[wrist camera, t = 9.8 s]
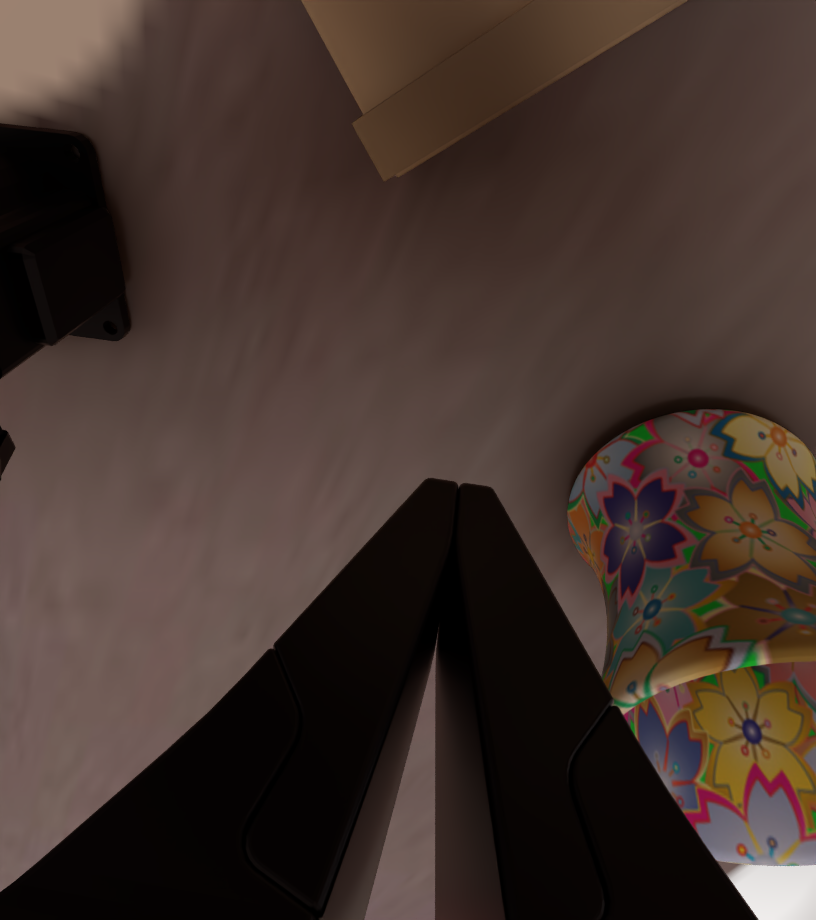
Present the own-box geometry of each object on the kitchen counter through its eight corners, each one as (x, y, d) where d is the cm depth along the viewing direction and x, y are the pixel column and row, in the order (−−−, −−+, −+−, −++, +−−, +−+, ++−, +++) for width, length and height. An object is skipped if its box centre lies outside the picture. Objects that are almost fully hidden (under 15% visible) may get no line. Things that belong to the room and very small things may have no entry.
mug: (521, 549, 26) (526, 817, 17) (614, 353, 20) (688, 605, 12) (798, 621, 26) (936, 918, 18) (964, 446, 21) (1282, 758, 12)
